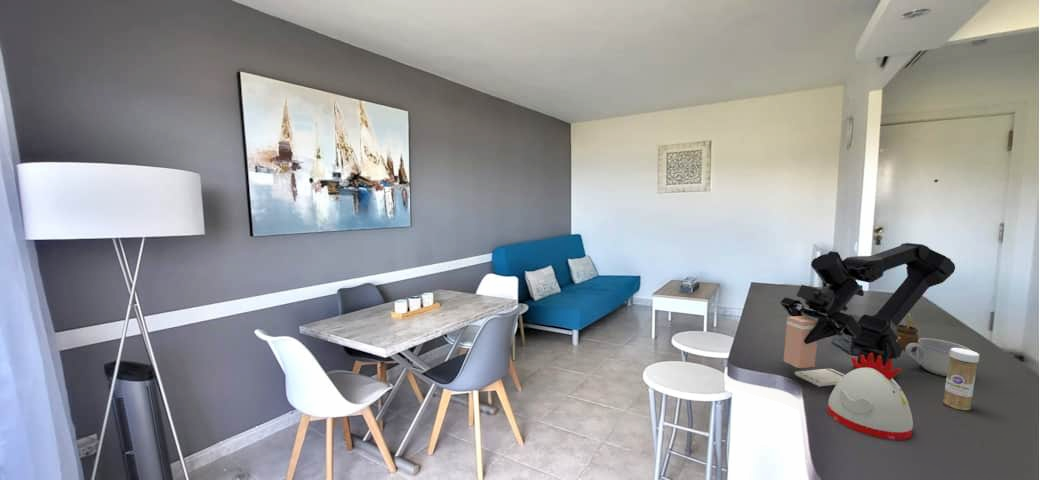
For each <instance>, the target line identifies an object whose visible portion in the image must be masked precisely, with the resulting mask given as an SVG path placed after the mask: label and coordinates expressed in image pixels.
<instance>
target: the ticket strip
mask: <svg viewBox="0 0 1040 480" xmlns="http://www.w3.org/2000/svg"><path fill="white" fill-rule="evenodd" d="M794 375H795V376H797V377H799V378H801V379H803V380H805V381H807V382H809V383H811V384H813V385H815V386H817V387H825V386H836V384H837V383H838V382H839V381H840V379H841V378H842V377H843V376H845V375H846V374H844V373H843V372H840V371H839V370H835V369H833V368H822V369H821V368H819V369H810V370H799V371H798V370H797V371H794Z"/></svg>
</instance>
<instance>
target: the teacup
mask: <svg viewBox="0 0 1040 480" xmlns="http://www.w3.org/2000/svg"><path fill="white" fill-rule="evenodd" d="M913 347H917V349H916V354H915V355H914V354H913V352H912V351H911V349H912V348H913ZM951 348H962V349H967V350H971V351H973V350H972V349H970V348H969V347H967V346H965V345H962V344H959V343H955V342H952V341H948V340H943V339H937V338H927V337H923V338H922V337H921V338H918V344H917V343H910V344H908V345H907V346H906V349H905V350H904V351H905V353H906V354H907V356H909V358H912V360H914V361H915V362H916V363H917V364H919V365H920V366H921V367H922V368H923V369H924V370H926V371H928V372H929V373H933V374H935V375H939V376H943V377H947V374H948V368H949V362H950V356H949V354H950V349H951Z"/></svg>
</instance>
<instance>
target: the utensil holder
mask: <svg viewBox="0 0 1040 480" xmlns="http://www.w3.org/2000/svg"><path fill="white" fill-rule="evenodd" d="M914 320H915V314H913V315H912V314H910V313H907V315H906V320H905V321H904V322H901V323H902V324H898V325H897V335H898V337H897V339H896V342H897V343H898V345H899V346H900V347H901V349H902V351H906V350H905V349H906V346H907V345H908V344H910V343H917V344H918V339H919V335H918V332H919V331H918V328H917V327H914V326H911V325H912V324H914ZM914 351H917V347H913V348H912V349H911V352H914Z"/></svg>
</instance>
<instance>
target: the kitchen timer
mask: <svg viewBox="0 0 1040 480" xmlns="http://www.w3.org/2000/svg"><path fill="white" fill-rule="evenodd" d="M857 360H858V359H856V357H855V356H854V357H852V358H851V361H852V364H853V366H854V367H855V369H852V370H850V371H849V372H847V373H846V374H845V376H843V377H842V378H841V379H840V381H839V382H838V383H837V384H836V385H834V388H833V390H832V392H831V393H830V394H829V398H828V402H827V408H826V409H827V413H828V415H829V416H830V417H831V418H832V419H833V420H835V421H836V422H837V423H840V424H841V425H843V426H844V427H846V428H849V429H852V430H853V429H854V431H856V432H858V433H861V434H865V435H868V436H871V437H874V438H879V439H884V440H894V441H901V440H907V439H910V438H911V437H912V436H913V429H914V421H913V416H912V411H911V407H910V404H909V400H908V399H907V396H906V395H905V392H903V391H904V390H902V388H901V386H900V385H899V384H898V383H897V382H896V380H894V379H893V377H894V376H895V377H896V375H897V374H898V373H900V370H901V367H898V368H896V369H894V370H893V358H892V359H891V360H888V362H887V363H886V365H885V366H883V364H882V357H881V355H879V356H878V357H877V360H876V363H875V362H874V356H873V353H869V356H868V359H867V361H866V359H865V357H864V355H860V361H861V365H860V364H859V363H858V362H857Z"/></svg>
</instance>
